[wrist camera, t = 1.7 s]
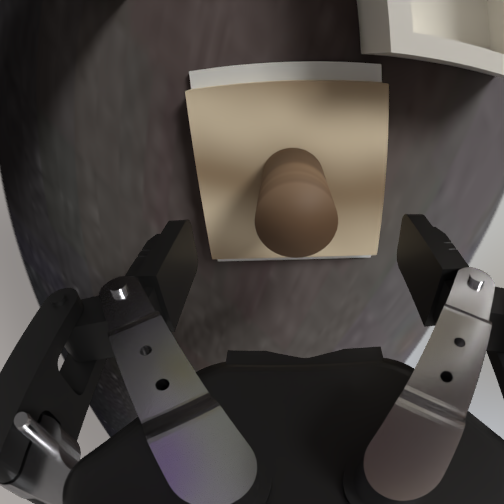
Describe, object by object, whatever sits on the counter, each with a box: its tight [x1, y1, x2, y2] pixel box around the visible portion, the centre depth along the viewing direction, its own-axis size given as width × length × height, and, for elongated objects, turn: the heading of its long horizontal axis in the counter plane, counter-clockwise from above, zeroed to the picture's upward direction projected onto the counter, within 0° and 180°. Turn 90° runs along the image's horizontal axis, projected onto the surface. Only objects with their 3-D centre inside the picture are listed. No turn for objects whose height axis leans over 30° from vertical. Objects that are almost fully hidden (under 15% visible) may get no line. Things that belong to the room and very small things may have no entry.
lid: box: [185, 80, 389, 259], centre depth 15 cm, size 10×10×6 cm
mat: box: [189, 61, 382, 261], centre depth 17 cm, size 12×10×1 cm
